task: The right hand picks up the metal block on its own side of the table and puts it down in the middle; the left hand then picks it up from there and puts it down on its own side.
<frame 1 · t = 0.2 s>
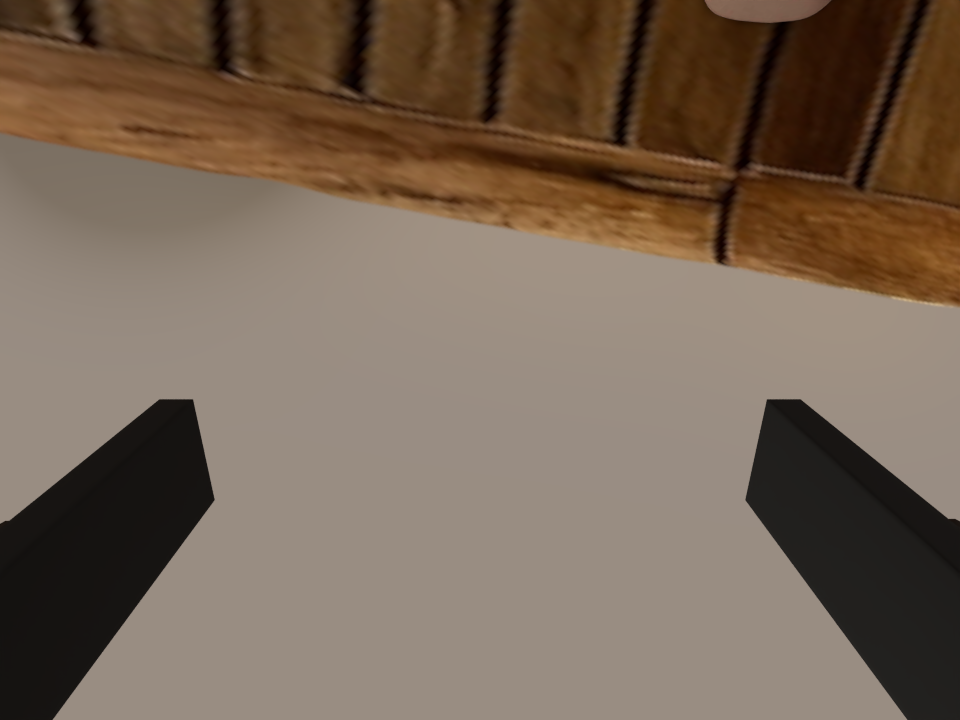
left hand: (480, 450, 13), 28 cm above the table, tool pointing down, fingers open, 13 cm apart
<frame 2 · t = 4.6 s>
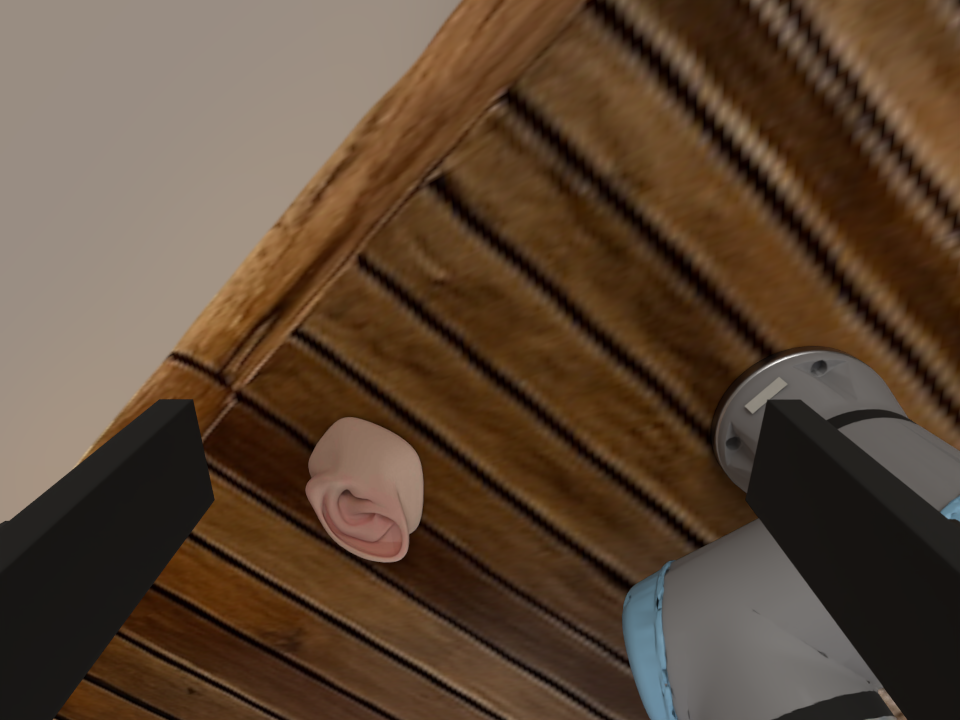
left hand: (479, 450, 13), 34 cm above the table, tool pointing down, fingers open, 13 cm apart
anatomical model: (368, 479, 53), on the table
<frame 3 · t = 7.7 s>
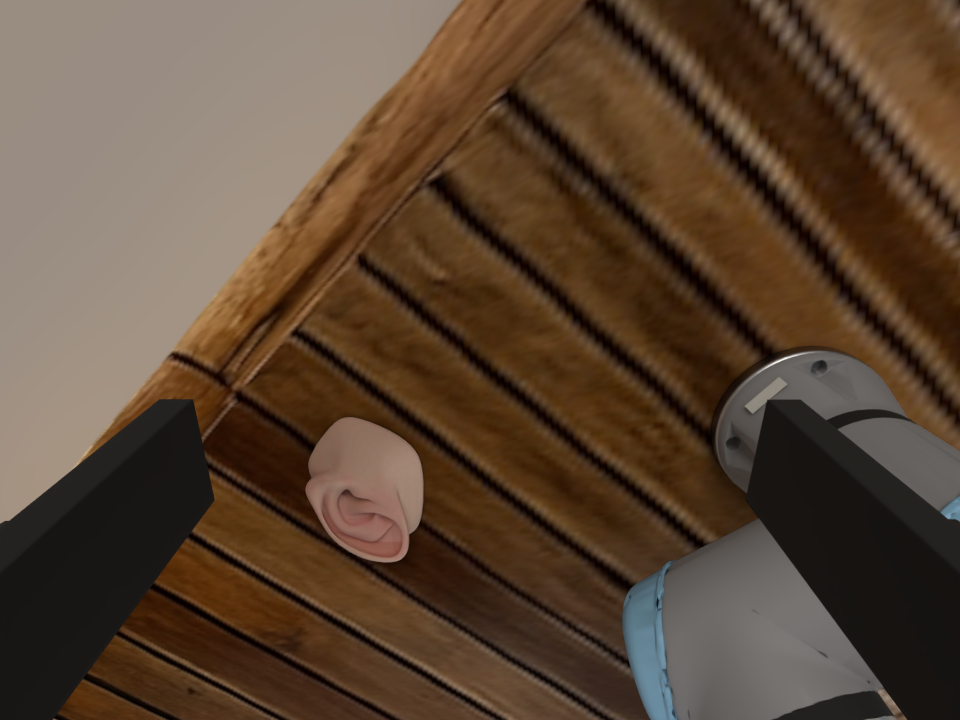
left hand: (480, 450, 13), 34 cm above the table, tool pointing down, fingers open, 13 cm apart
anatomical model: (368, 479, 53), on the table
when the right hand's fingers open (4 cm above the table, at t = 11.1 s): block drops 2 cm, on the table.
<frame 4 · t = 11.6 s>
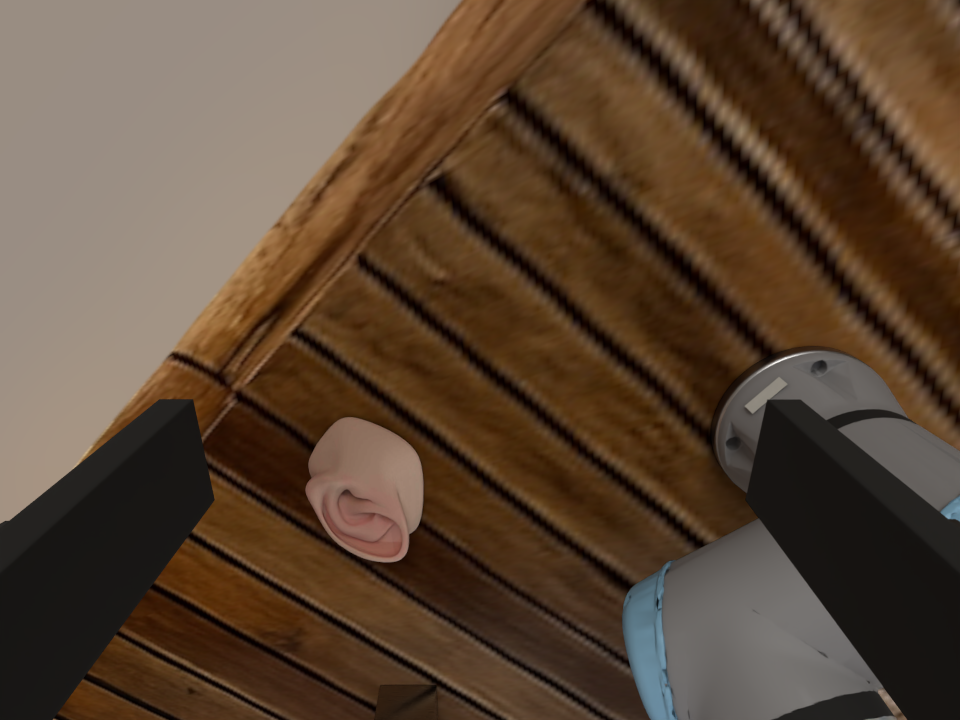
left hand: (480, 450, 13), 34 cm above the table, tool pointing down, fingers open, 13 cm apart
block: (410, 709, 65), on the table
anatomical model: (368, 479, 53), on the table
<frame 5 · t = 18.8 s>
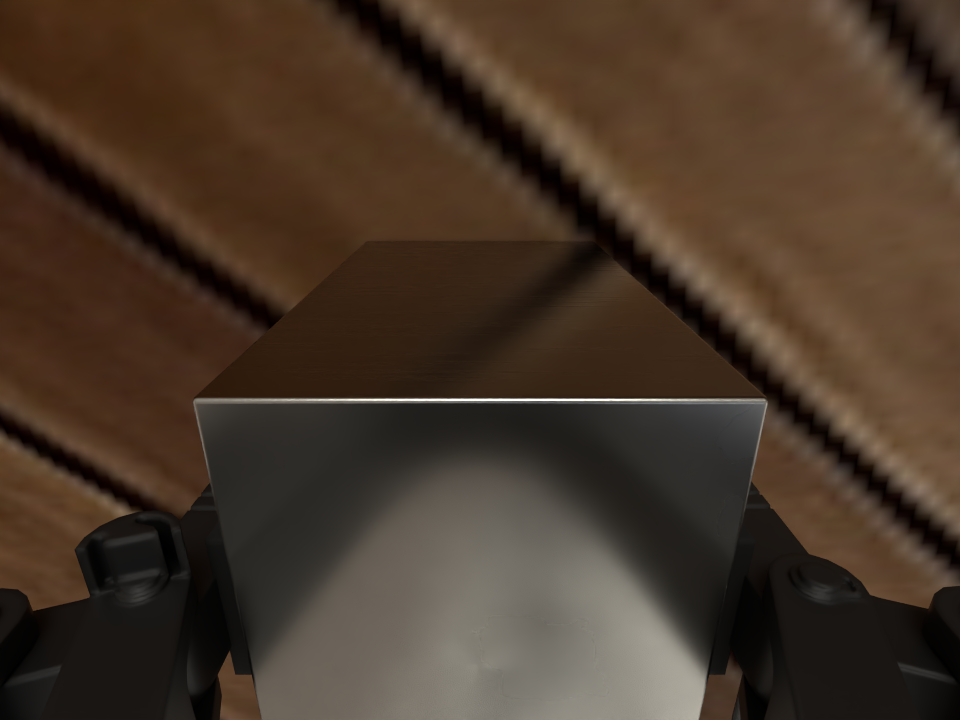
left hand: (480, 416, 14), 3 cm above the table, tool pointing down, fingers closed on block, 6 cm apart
block: (480, 374, 17), on the table, touching left hand
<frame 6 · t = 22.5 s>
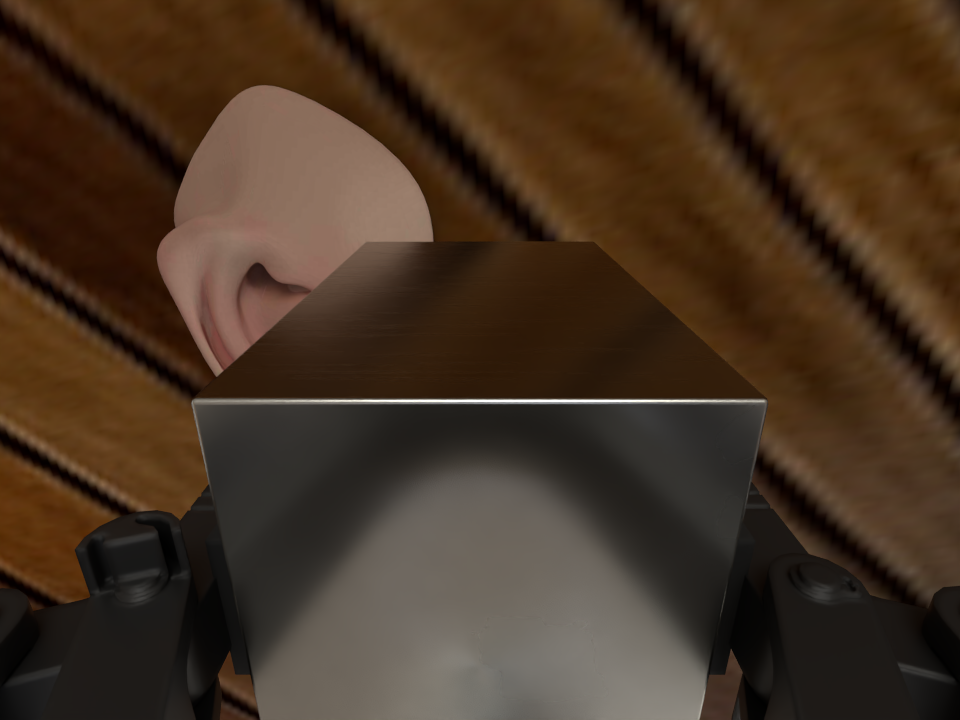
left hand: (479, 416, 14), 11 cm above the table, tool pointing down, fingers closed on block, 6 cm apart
block: (479, 375, 17), point 8 cm above the table, touching left hand
anatomical model: (312, 264, 24), on the table
when the left hand's fingers open (4 cm above the table, at t = 26.1 s): block drops 2 cm, on the table.
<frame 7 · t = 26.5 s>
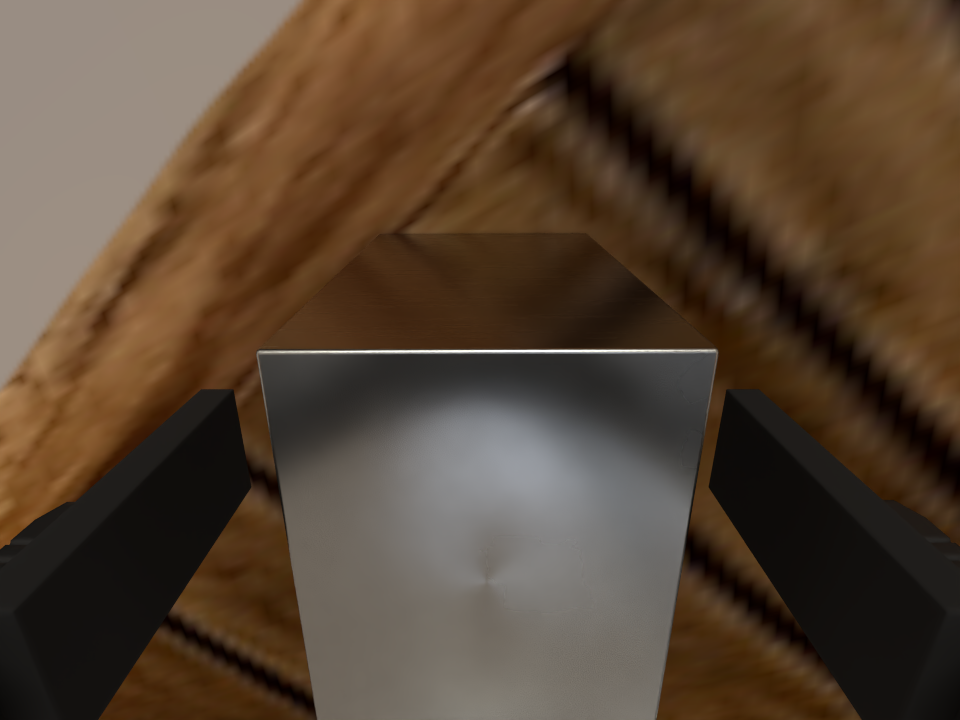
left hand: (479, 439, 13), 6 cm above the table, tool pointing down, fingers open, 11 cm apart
block: (483, 357, 19), on the table
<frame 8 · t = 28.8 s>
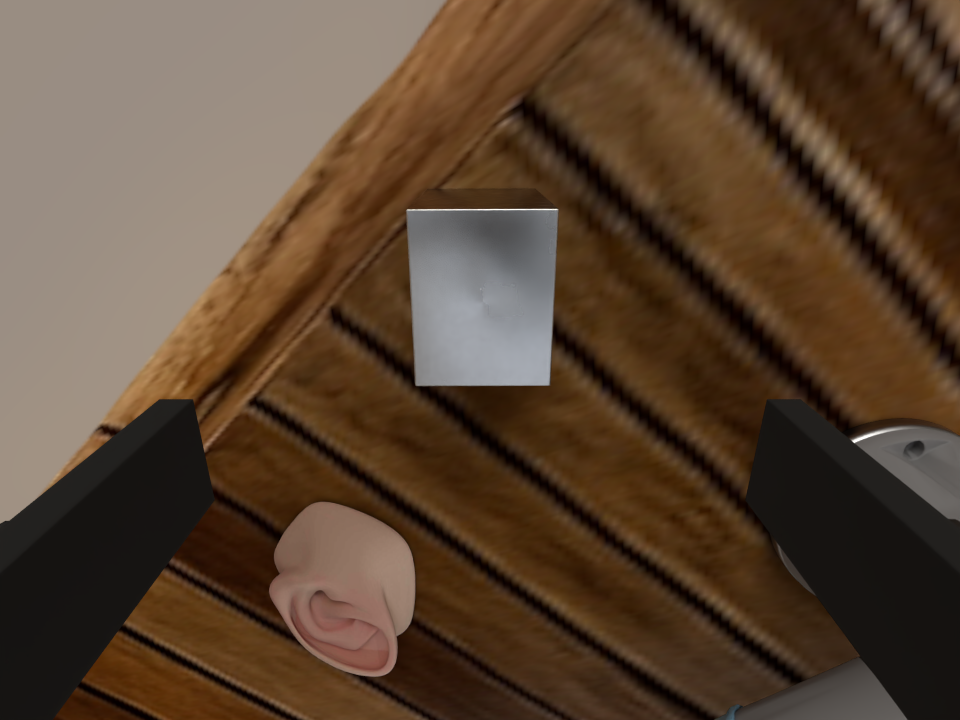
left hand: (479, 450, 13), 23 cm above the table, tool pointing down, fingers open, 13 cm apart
block: (481, 258, 34), on the table
anatomical model: (347, 572, 44), on the table
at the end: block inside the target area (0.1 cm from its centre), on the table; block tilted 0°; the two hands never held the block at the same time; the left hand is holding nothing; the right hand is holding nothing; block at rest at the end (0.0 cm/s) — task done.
